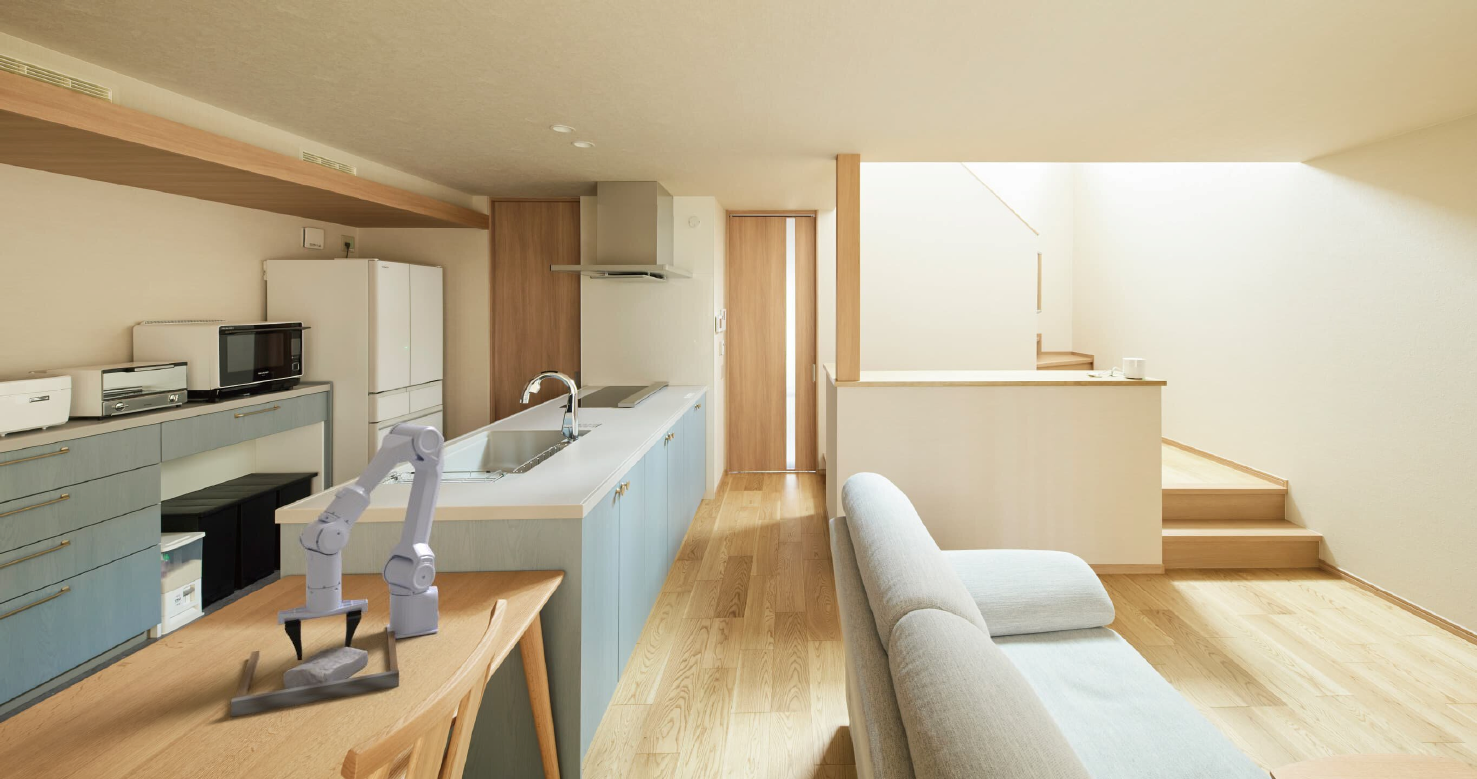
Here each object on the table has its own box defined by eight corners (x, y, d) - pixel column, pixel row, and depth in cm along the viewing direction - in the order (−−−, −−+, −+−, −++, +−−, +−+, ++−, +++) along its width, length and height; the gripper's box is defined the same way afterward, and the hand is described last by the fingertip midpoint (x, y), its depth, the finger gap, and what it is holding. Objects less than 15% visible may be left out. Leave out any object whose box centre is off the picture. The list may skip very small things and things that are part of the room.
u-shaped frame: (394, 636, 143) (394, 624, 142) (399, 686, 122) (399, 672, 122) (251, 657, 131) (251, 645, 131) (230, 717, 110) (230, 702, 110)
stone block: (277, 700, 120) (328, 695, 118) (273, 673, 120) (323, 667, 118) (327, 671, 132) (374, 666, 130) (323, 646, 132) (370, 641, 130)
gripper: (366, 572, 136) (366, 638, 137) (278, 583, 129) (279, 653, 129) (368, 583, 130) (368, 652, 131) (276, 595, 123) (277, 668, 123)
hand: (323, 654), depth 130 cm, fingers open, 7 cm apart
